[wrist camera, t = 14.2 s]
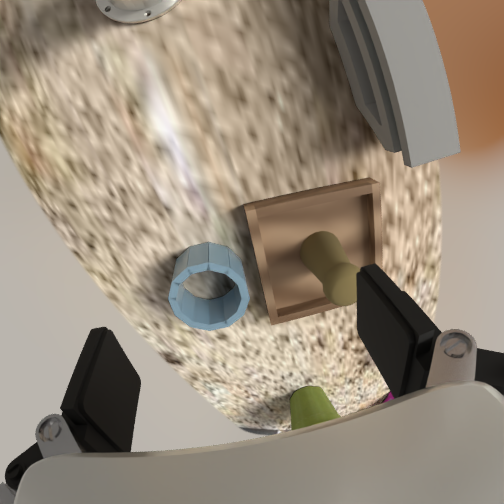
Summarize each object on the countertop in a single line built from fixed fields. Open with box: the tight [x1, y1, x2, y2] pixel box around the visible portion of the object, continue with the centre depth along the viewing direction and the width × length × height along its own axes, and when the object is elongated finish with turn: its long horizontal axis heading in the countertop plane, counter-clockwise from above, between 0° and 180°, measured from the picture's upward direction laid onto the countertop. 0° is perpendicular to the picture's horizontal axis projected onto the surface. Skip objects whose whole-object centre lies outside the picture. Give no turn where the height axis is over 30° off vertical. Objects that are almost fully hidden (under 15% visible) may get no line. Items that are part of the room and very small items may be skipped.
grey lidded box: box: [329, 0, 460, 168], centre depth 29 cm, size 25×8×11 cm, turn 19°
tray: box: [243, 178, 382, 325], centre depth 43 cm, size 18×18×3 cm
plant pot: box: [290, 386, 341, 430], centre depth 54 cm, size 12×12×11 cm
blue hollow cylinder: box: [168, 242, 250, 331], centre depth 42 cm, size 10×10×6 cm
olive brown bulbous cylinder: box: [300, 231, 360, 306], centre depth 39 cm, size 6×6×11 cm
